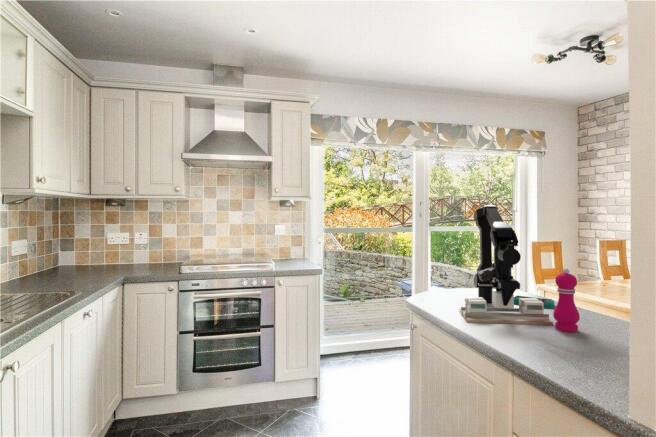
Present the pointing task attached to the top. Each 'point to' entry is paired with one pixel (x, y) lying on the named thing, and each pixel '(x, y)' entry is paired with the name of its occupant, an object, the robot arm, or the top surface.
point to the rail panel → (505, 312)
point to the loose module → (498, 301)
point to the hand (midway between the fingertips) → (502, 303)
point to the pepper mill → (566, 303)
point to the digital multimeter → (547, 302)
